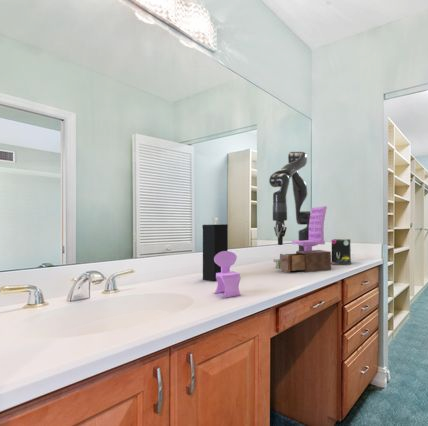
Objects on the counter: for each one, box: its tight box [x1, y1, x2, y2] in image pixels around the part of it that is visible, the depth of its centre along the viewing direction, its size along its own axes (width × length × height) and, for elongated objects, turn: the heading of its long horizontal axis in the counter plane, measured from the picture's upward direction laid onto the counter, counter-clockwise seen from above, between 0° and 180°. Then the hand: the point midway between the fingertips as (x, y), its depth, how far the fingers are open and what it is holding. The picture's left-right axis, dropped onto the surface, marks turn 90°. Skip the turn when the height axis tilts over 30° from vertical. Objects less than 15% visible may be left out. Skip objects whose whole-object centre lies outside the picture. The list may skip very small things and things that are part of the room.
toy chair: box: [214, 250, 241, 299], centre depth 99 cm, size 8×9×15 cm
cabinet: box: [295, 249, 332, 273], centre depth 150 cm, size 15×13×10 cm
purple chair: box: [291, 205, 328, 251], centre depth 170 cm, size 15×17×35 cm
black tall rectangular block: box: [202, 216, 229, 282], centre depth 127 cm, size 8×8×28 cm
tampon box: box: [330, 238, 352, 266], centre depth 171 cm, size 11×9×15 cm
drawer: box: [273, 252, 306, 273], centre depth 145 cm, size 18×11×8 cm, turn 115°
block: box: [275, 258, 280, 269], centre depth 158 cm, size 4×4×4 cm
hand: (280, 244), depth 145 cm, fingers closed
